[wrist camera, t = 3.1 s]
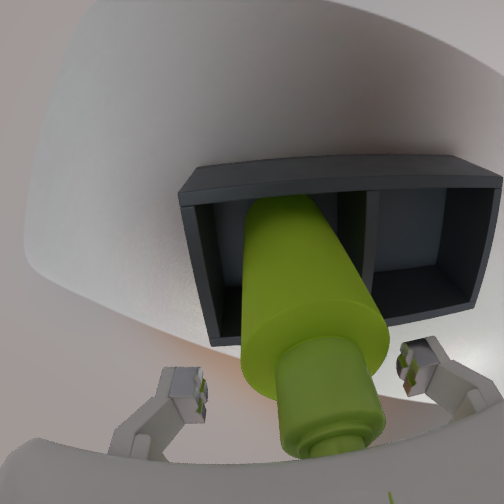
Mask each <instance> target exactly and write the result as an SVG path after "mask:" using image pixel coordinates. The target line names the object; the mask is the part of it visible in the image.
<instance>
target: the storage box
mask: <svg viewBox="0 0 504 504" xmlns="http://www.w3.org/2000/svg"><path fill="white" fill-rule="evenodd" d="M502 183H503V177H502V176H500V175H498V174H496V173H493V172H491V171H489V170H487V169H484V168H482V167H480V166H477V165H475V164H472V163H470V162H467V161H465V160H462V159H460V158H457V157H455V156H449V155H422V154H355V155H327V156H308V157H293V158H279V159H267V160H256V161H246V162H237V163H228V164H219V165H211V166H204V167H197V168H196V170H195V171H194V172H193V173H192V175H191V176H190V177H189V179H188V180H187V181H186V183H185V184H184V185H183V187H182V188H181V189H180V191H179V192H178V199H179V204H180V207H181V208H180V209H181V215H182V220H183V225H184V230H185V235H186V240H187V245H188V250H189V254H190V259H191V264H192V268H193V273H194V277H195V282H196V286H197V291H198V295H199V299H200V304H201V308H202V312H203V316H204V320H205V324H206V328H207V332H208V336H209V341H210V344H211V347H216V346H232V345H241V322H242V280H243V243H244V222H245V218H246V215H247V212H248V210H249V209H250V207H251V206H252V205H253V203H254V202H255V201H256V200H257V199H259V198H268V197H279V196H291V195H303V194H305V195H307V196H308V197H310V198H311V199H312V200H313V201H314V202H315V203H316V204H317V206H318V207H319V209H320V210H321V212H322V214H323V215H324V217H325V218H326V220H327V222H328V223H329V225H330V226H331V228H332V230H333V231H334V233H335V235H336V236H337V238H338V239H339V241H340V243H341V244H342V246H343V248H344V249H345V251H346V253H347V255H348V256H349V258H350V260H351V261H352V263H353V265H354V266H355V268H356V270H357V272H358V273H359V275H360V277H361V279H362V280H363V282H364V284H365V286H366V288H367V289H368V291H369V293H370V295H371V297H372V298H373V300H374V302H375V304H376V306H377V308H378V309H379V311H380V313H381V315H382V317H383V319H384V321H385V323H386V325H387V327H389V326H395V325H400V324H405V323H411V322H416V321H421V320H425V319H430V318H435V317H439V316H444V315H448V314H452V313H457V312H461V311H465V310H469V309H473V308H474V306H475V304H476V300H477V297H478V294H479V291H480V288H481V285H482V281H483V278H484V274H485V271H486V267H487V263H488V259H489V255H490V251H491V247H492V242H493V238H494V233H495V228H496V223H497V217H498V212H499V205H500V199H501V192H502Z"/></svg>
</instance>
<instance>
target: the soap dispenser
mask: <svg viewBox="0 0 504 504" xmlns="http://www.w3.org/2000/svg"><path fill="white" fill-rule="evenodd" d="M389 343H390V336H389V330H388V327H387V325H386V323H385V321H384V319H383V317H382V315H381V313H380V311H379V309H378V308H377V306H376V304H375V302H374V300H373V298H372V297H371V295H370V293H369V291H368V289H367V288H366V286H365V284H364V282H363V280H362V279H361V277H360V275H359V273H358V272H357V270H356V268H355V266H354V265H353V263H352V261H351V260H350V258H349V256H348V255H347V253H346V251H345V249H344V248H343V246H342V244H341V243H340V241H339V239H338V238H337V236H336V235H335V233H334V231H333V230H332V228H331V226H330V225H329V223H328V222H327V220H326V218H325V217H324V215H323V214H322V212H321V210H320V209H319V207H318V206H317V204H316V203H315V202H314V201H313V200H312V199H311V198H310V197H308V196H307V195H305V194H303V195H291V196H279V197H268V198H259V199H257V200H256V201H255V202H254V203H253V205H252V206H251V207H250V209H249V210H248V212H247V215H246V218H245V222H244V243H243V280H242V322H241V369H242V372H243V375H244V377H245V379H246V380H247V382H248V383H249V384H250V385H251V387H252V388H254V389H255V390H256V391H257V392H259V393H260V394H262V395H264V396H266V397H268V398H270V399H273V400H276V401H277V405H278V416H279V429H280V440H281V445H282V448H283V450H284V451H285V452H286V453H288V454H289V455H291V456H293V457H295V458H299V459H309V458H316V457H323V456H329V455H335V454H341V453H346V452H351V451H356V450H361V449H365V448H367V447H368V446H369V445H370V444H371V443H372V442H373V441H374V440H375V439H376V438H377V437H378V436H379V435H380V434H381V433H382V431H383V430H384V428H385V424H386V418H385V414H384V411H383V408H382V405H381V402H380V400H379V397H378V394H377V391H376V388H375V386H374V383H373V380H372V376H373V375H374V374H375V372H376V371H377V370H378V369H379V367H380V366H381V365H382V363H383V361H384V359H385V357H386V355H387V352H388V349H389ZM388 497H389V501H390V504H394V503H393V499H392V495H391V492H388Z"/></svg>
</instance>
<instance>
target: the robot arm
mask: <svg viewBox="0 0 504 504" xmlns="http://www.w3.org/2000/svg"><path fill="white" fill-rule="evenodd" d="M400 351H401V354H400V355H399V356H398V358H397V362H396V369H397V373H398V376H399V378H400V379H402V380H404V384H403V387H404V389H405V391H406V394H407V396H408V397H411V396H415V395H419V394H423V393H425V394H426V395H427V396H429V397H430V398H431V399H432V400H434V401H435V402H436V403H437V404H439V405H440V406H441V407H443V408H444V409H445V410H446V411H448V412H449V413H450V414H451V415H453V417H452V418H451V420H450V421H449V423H448V424H447V425H445V426H442V427H439V428H436V429H433V430H430V431H427V432H424V433H421V434H418V435H415V436H412V437H408V438H405V439H401V440H398V441H394V442H391V443H386V444H383V445H378V446H375V447H370V448H365V449H361V450H356V451H351V452H346V453H341V454H335V455H329V456H323V457H316V458H309V459H301V460H293V461H282V462H272V463H254V464H188V463H187V464H186V463H172V462H169V461H168V460H167V459H166V457H165V456H164V455H163V453H162V452H163V451H164V449H165V448H166V447H167V446H168V445H169V443H170V442H171V441H172V440H173V439H174V437H175V436H176V435H177V434H178V432H179V431H180V430H181V429H182V427H183V426H184V424H187V423H188V424H194V423H195V424H197V423H205V418H206V408H205V405H204V404H205V403H206V402H207V399H208V389H207V384H206V380H205V379H203V371H202V368H201V367H164V368H163V370H162V373H161V377H160V381H159V384H158V388H157V392H156V396H155V397H151V398H150V399H149V400H148V401H147V402H146V403H145V404H144V405H143V406H141V407H140V408H139V409H138V410H137V411H136V412H135V413H134V414H132V415H131V416H130V417H129V418H128V419H127V420H126V421H124V422H123V423H122V424H121V425H120V426H119V427H118V428H116V429H115V431H114V434H113V437H112V440H111V444H110V447H109V450H108V454H103V453H98V452H93V451H88V450H83V449H79V448H74V447H70V446H66V445H63V444H58V443H55V442H51V441H48V440H45V439H41V438H34V439H32V440H29V441H28V442H26V443H25V444H23V445H21V446H20V447H18V448H17V449H15V450H14V451H12V452H11V453H10V454H9V455H8V456H7V458H6V459H5V461H4V463H3V464H2V466H1V468H0V504H390V501H389V497H388V492H391V495H392V499H393V503H394V504H504V399H503V397H502V396H501V394H500V392H499V391H498V389H497V387H496V386H495V384H494V383H493V381H492V380H490V379H488V378H486V377H484V376H483V375H481V374H479V373H477V372H475V371H473V370H471V369H469V368H468V367H466V366H464V365H462V364H460V363H458V362H456V361H455V360H450V359H449V357H448V355H447V354H446V352H445V351H444V349H443V348H442V346H441V345H440V343H439V341H438V340H437V338H436V337H435V336H430V337H426V338H421V339H417V340H413V341H408V342H404V343H402V345H401V347H400Z"/></svg>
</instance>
